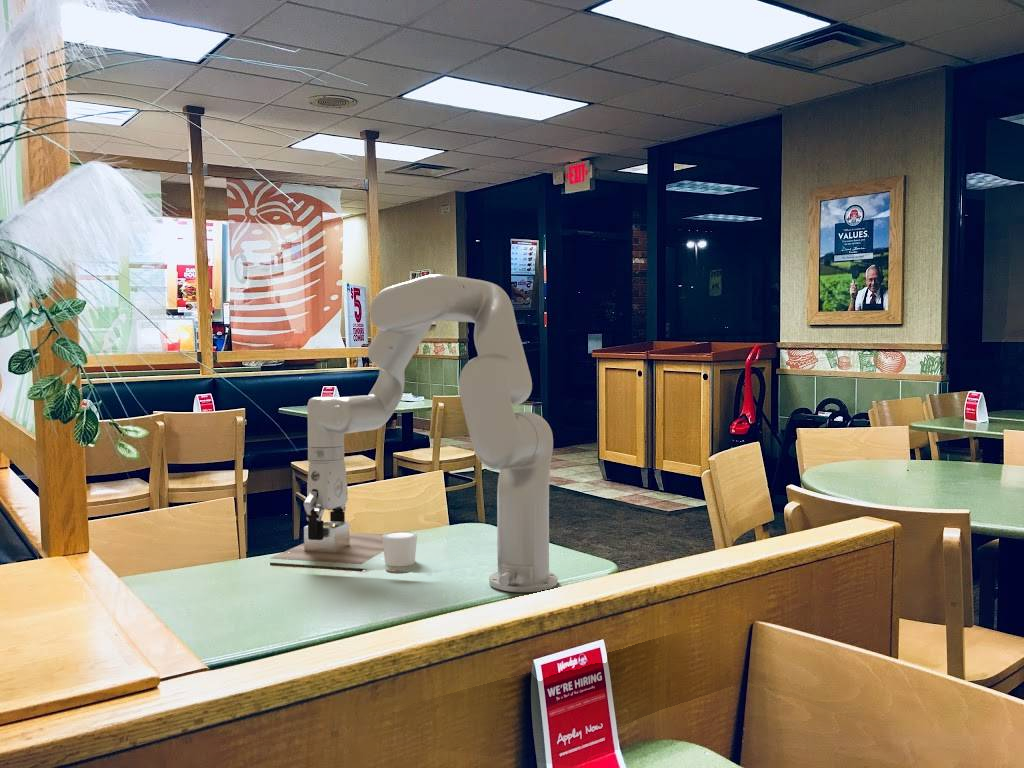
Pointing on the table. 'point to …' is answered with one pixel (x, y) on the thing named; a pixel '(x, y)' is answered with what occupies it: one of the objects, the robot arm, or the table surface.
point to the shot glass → (399, 549)
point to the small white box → (329, 537)
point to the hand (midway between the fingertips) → (327, 534)
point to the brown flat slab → (337, 553)
